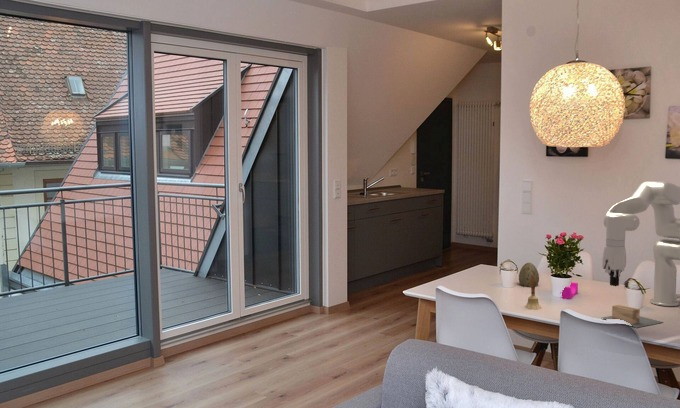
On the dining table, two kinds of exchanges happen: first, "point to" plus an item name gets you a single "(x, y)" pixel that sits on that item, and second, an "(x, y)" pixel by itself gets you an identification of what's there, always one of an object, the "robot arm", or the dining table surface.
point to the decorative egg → (528, 275)
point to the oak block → (626, 313)
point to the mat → (641, 322)
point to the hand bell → (533, 297)
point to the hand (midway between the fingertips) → (614, 285)
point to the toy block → (570, 291)
